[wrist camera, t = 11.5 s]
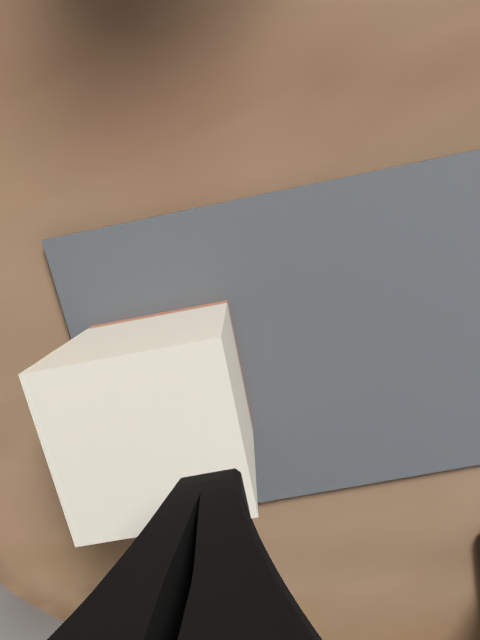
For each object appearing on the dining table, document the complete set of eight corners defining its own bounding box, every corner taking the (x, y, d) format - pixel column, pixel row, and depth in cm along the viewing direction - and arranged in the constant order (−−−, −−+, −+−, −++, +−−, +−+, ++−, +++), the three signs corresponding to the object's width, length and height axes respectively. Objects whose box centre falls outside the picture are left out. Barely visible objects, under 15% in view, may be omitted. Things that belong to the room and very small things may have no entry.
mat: (533, 448, 19) (541, 454, 19) (130, 518, 20) (127, 525, 20) (521, 141, 16) (529, 138, 16) (47, 239, 17) (41, 240, 17)
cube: (75, 547, 13) (126, 448, 19) (258, 517, 13) (252, 426, 19) (18, 374, 12) (92, 325, 18) (220, 337, 11) (227, 300, 17)
